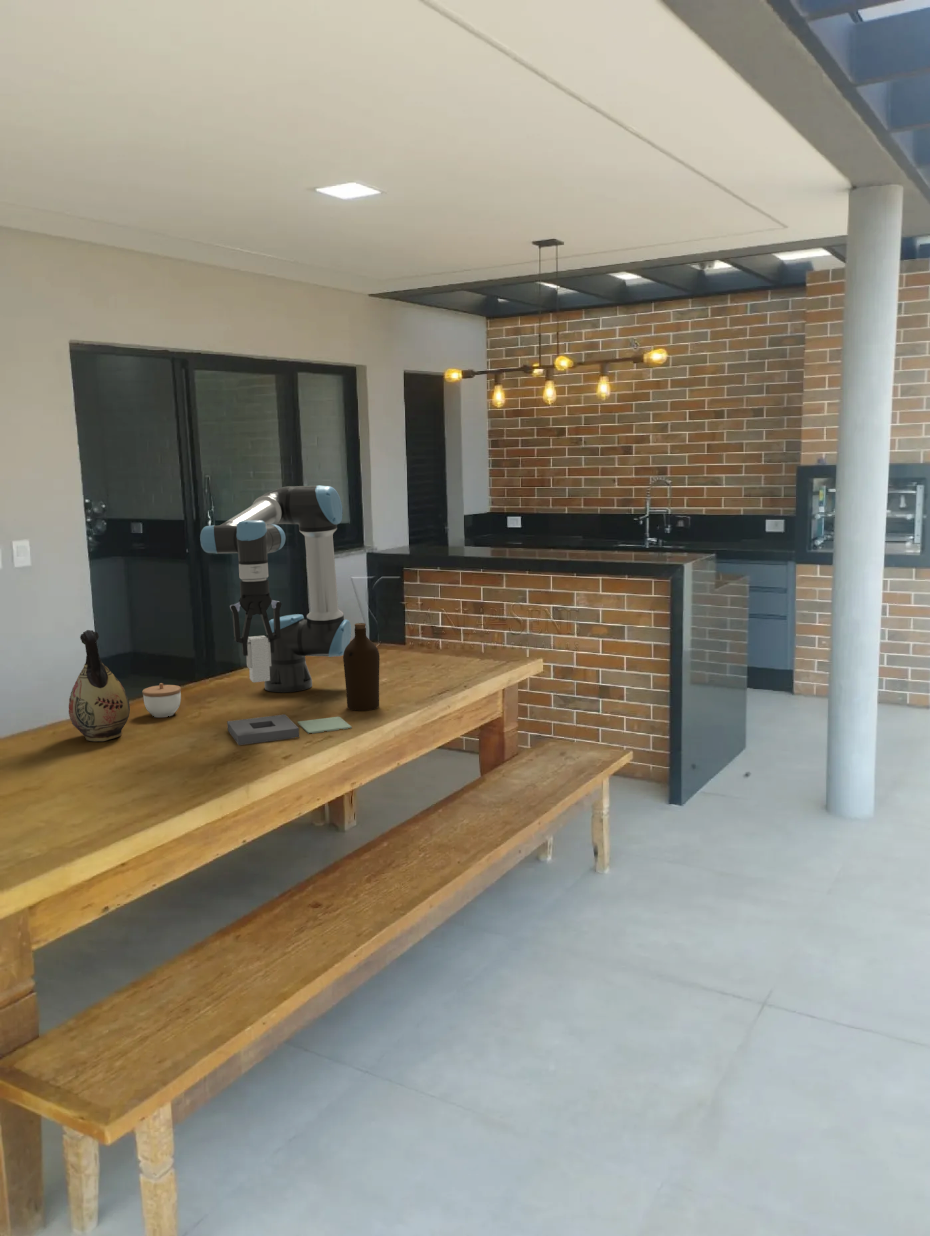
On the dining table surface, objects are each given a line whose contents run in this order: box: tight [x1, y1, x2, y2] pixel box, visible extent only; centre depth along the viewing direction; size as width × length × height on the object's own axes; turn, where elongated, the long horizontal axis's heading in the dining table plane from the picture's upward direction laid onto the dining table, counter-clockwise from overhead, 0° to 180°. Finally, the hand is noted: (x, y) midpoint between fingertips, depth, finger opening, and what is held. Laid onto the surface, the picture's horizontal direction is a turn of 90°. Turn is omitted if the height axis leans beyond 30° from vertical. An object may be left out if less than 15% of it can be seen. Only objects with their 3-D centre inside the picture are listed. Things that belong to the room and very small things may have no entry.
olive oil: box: [342, 622, 381, 712], centre depth 294 cm, size 11×11×25 cm
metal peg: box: [248, 635, 270, 683], centre depth 266 cm, size 4×4×12 cm
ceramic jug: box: [68, 629, 131, 742], centre depth 267 cm, size 17×15×30 cm
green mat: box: [297, 716, 353, 735], centre depth 276 cm, size 12×12×1 cm
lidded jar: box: [141, 682, 182, 718], centre depth 292 cm, size 11×11×9 cm
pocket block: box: [226, 714, 300, 746], centre depth 270 cm, size 16×16×2 cm
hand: (259, 666), depth 267 cm, fingers closed on metal peg, 4 cm apart
